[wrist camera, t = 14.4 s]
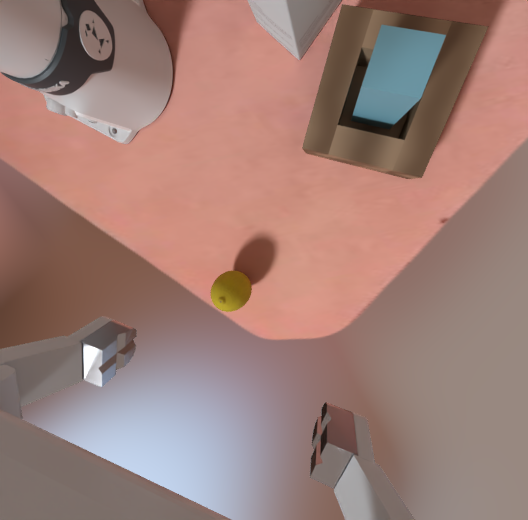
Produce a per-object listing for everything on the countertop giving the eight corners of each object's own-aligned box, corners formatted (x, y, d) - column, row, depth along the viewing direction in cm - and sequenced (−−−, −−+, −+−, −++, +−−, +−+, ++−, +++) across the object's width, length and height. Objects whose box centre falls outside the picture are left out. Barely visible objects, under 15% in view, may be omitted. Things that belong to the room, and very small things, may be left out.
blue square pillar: (350, 120, 30) (361, 86, 20) (363, 82, 29) (381, 24, 19) (389, 129, 29) (420, 98, 19) (403, 90, 28) (446, 34, 18)
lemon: (249, 260, 39) (231, 277, 32) (262, 292, 40) (246, 316, 33) (219, 269, 41) (194, 288, 34) (232, 300, 42) (211, 324, 34)
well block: (306, 153, 33) (302, 147, 29) (340, 33, 29) (342, 4, 24) (408, 178, 31) (421, 177, 26) (460, 54, 27) (488, 26, 22)
